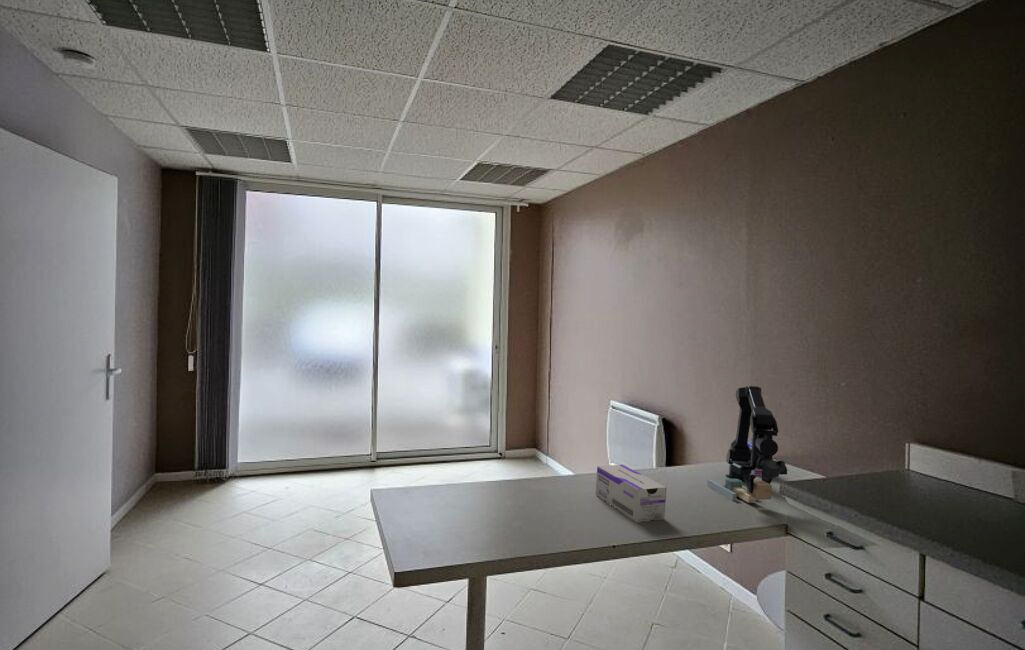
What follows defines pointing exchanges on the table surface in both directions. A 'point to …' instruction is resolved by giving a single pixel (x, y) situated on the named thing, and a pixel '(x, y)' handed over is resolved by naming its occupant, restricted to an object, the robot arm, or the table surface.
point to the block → (761, 490)
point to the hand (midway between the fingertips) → (757, 492)
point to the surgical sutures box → (631, 492)
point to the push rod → (739, 490)
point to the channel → (723, 490)
